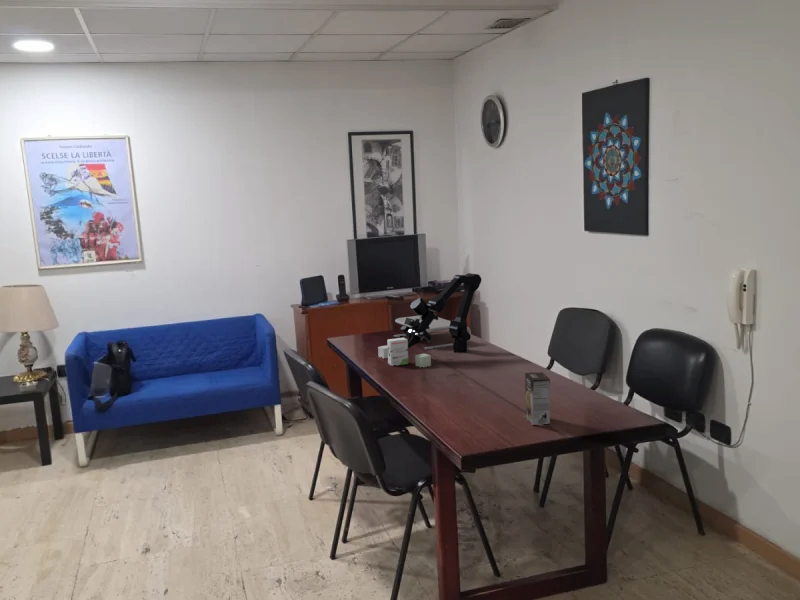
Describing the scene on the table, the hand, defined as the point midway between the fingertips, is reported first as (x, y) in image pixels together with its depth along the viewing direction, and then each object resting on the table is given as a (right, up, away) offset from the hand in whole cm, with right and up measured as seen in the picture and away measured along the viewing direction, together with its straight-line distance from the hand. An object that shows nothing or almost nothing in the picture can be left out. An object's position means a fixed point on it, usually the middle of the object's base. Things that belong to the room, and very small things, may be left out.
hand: (405, 347), depth 325 cm
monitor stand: (+14, 0, +47) cm, 49 cm away
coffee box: (+44, -19, -86) cm, 99 cm away
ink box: (-4, -7, -1) cm, 8 cm away
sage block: (+8, -8, -6) cm, 13 cm away
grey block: (-10, -5, +14) cm, 18 cm away
